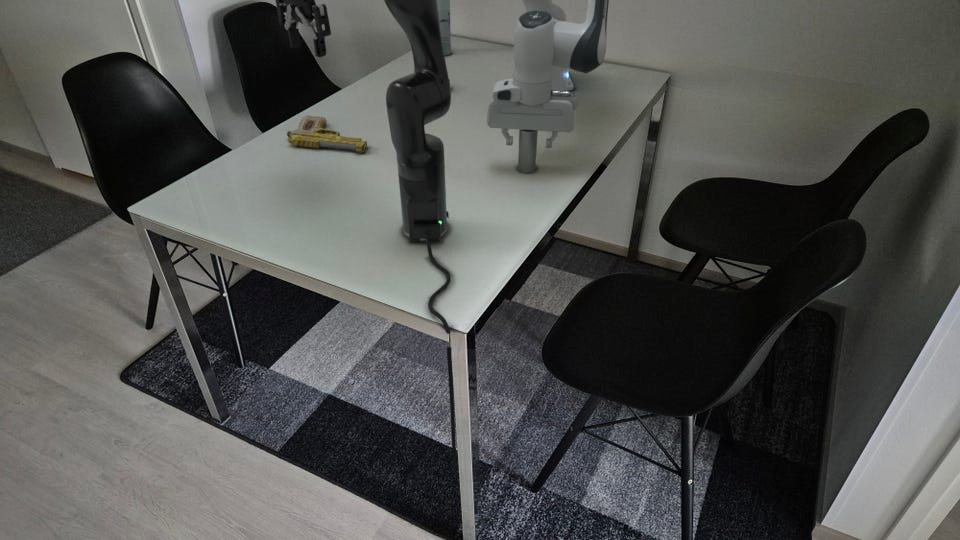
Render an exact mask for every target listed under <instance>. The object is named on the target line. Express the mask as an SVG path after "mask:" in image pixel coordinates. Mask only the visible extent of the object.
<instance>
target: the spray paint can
mask: <svg viewBox="0 0 960 540" xmlns="http://www.w3.org/2000/svg"><path fill="white" fill-rule="evenodd" d="M437 4H438V13H439V22H440V31H441V39H442V45H443V51H444V56H445V57H446V56H449V55H451V54H452V40H451V39H452V38H451V37H452V36H451V0H437Z"/></svg>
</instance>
